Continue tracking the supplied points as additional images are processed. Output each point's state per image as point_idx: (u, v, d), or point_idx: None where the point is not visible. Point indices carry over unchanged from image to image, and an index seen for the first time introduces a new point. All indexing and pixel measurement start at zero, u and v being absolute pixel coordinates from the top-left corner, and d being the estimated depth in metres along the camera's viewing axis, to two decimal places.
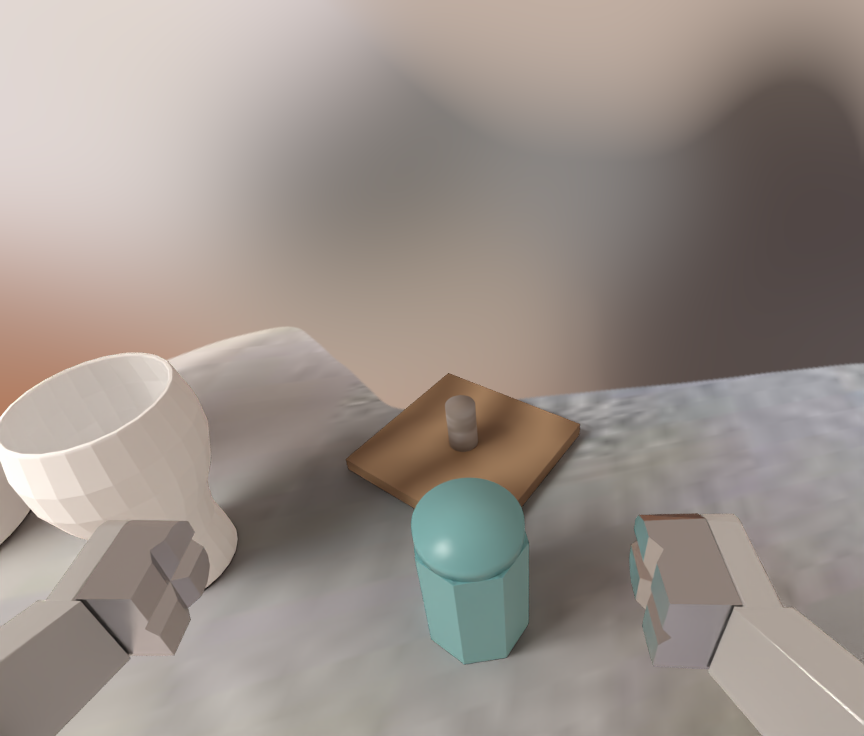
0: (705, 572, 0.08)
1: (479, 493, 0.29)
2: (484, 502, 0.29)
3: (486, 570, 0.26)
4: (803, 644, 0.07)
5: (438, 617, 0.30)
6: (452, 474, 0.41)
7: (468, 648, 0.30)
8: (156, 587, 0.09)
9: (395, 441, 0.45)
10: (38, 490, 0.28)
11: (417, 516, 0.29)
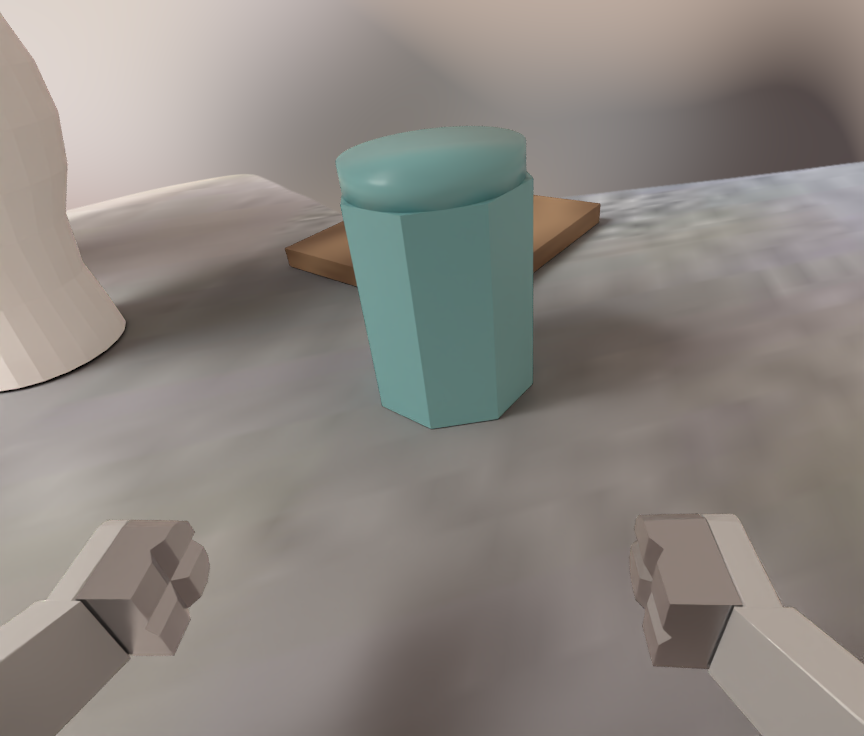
0: (705, 572, 0.08)
1: (452, 133, 0.18)
2: (460, 136, 0.18)
3: (458, 179, 0.14)
4: (803, 643, 0.07)
5: (386, 337, 0.18)
6: None
7: (435, 390, 0.18)
8: (156, 587, 0.09)
9: None
10: None
11: (348, 154, 0.17)
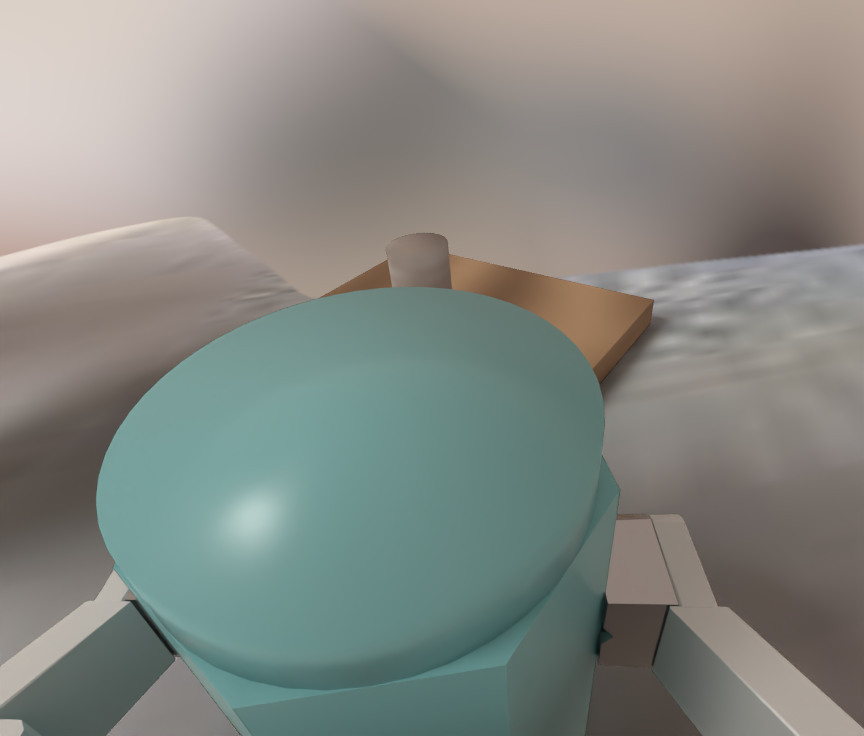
0: (645, 572, 0.08)
1: (419, 321, 0.08)
2: (434, 342, 0.07)
3: (410, 628, 0.04)
4: (732, 642, 0.07)
5: None
6: None
7: None
8: None
9: None
10: None
11: (166, 392, 0.07)
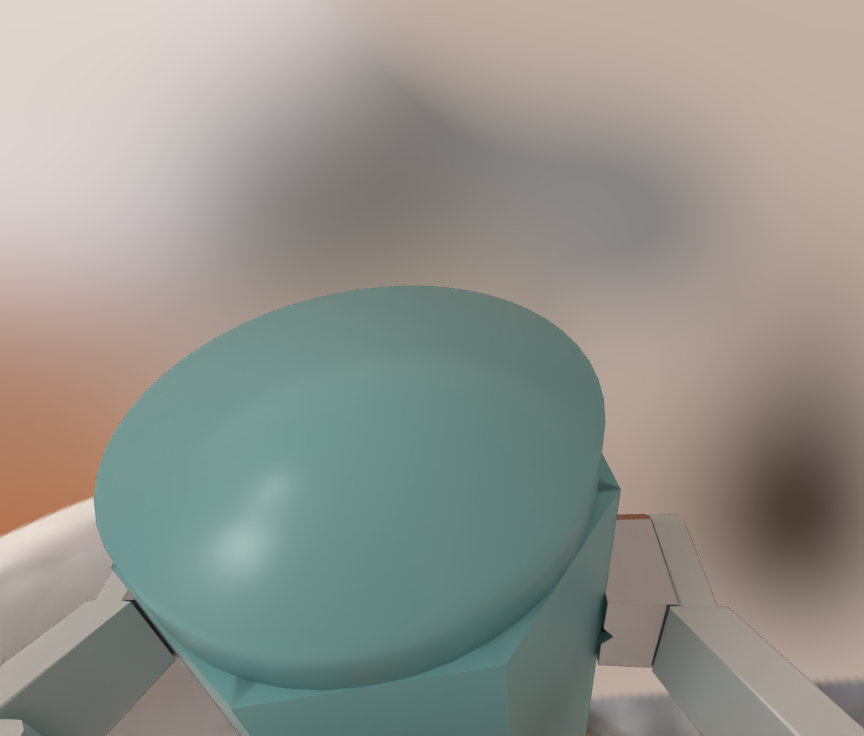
0: (645, 572, 0.08)
1: (419, 319, 0.08)
2: (434, 341, 0.07)
3: (409, 628, 0.04)
4: (733, 642, 0.07)
5: None
6: None
7: None
8: None
9: None
10: None
11: (165, 391, 0.07)
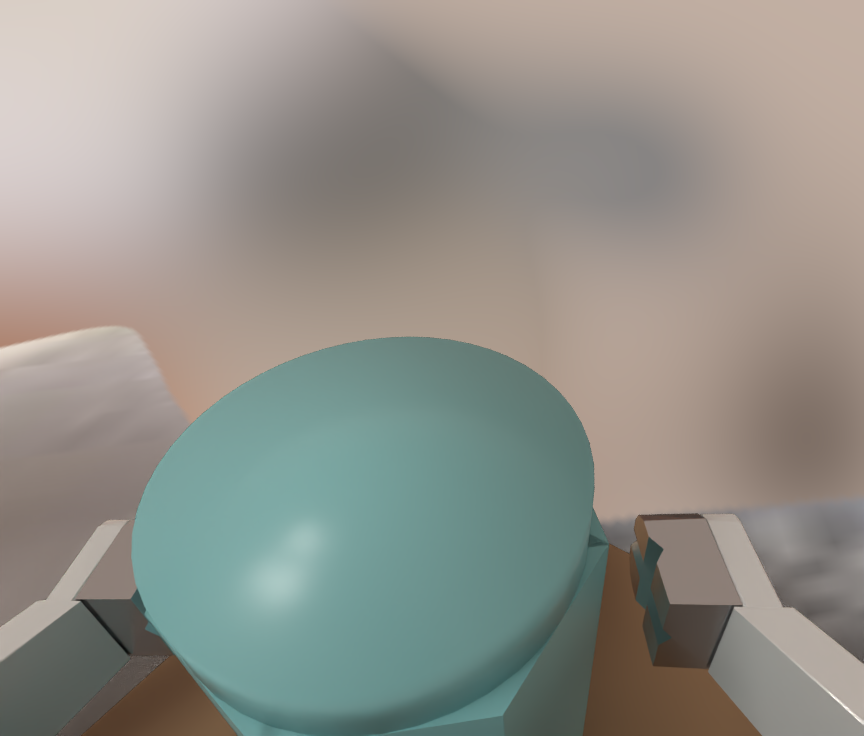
0: (705, 572, 0.08)
1: (424, 374, 0.09)
2: (438, 398, 0.08)
3: (417, 686, 0.05)
4: (803, 643, 0.07)
5: None
6: None
7: None
8: None
9: (207, 711, 0.13)
10: None
11: (189, 445, 0.08)
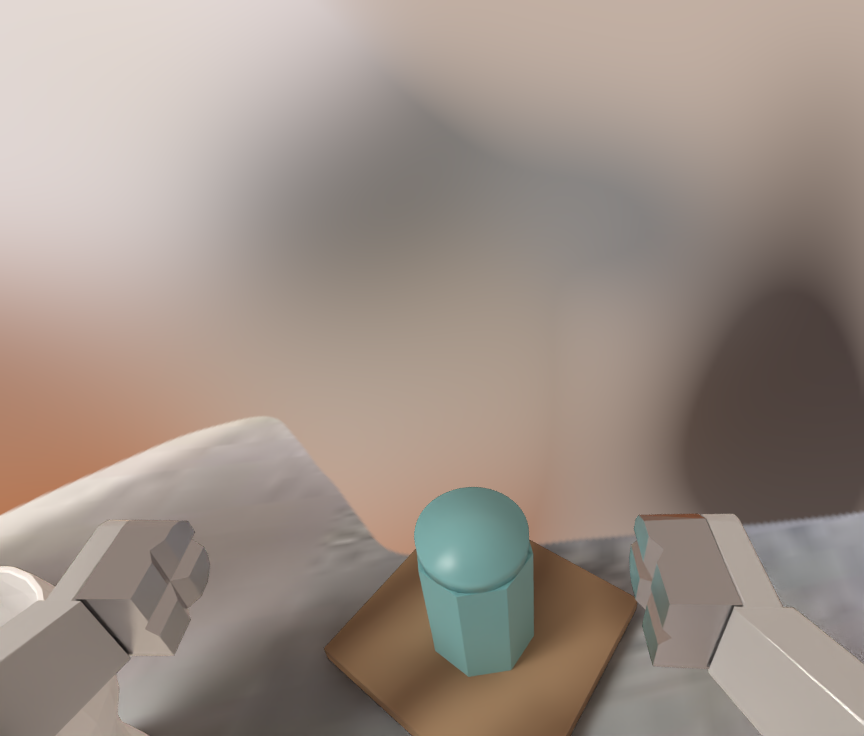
0: (705, 572, 0.08)
1: (483, 503, 0.29)
2: (488, 512, 0.29)
3: (490, 581, 0.26)
4: (803, 643, 0.07)
5: (442, 628, 0.29)
6: (468, 685, 0.30)
7: (472, 660, 0.29)
8: (156, 587, 0.09)
9: (390, 619, 0.34)
10: None
11: (420, 526, 0.28)
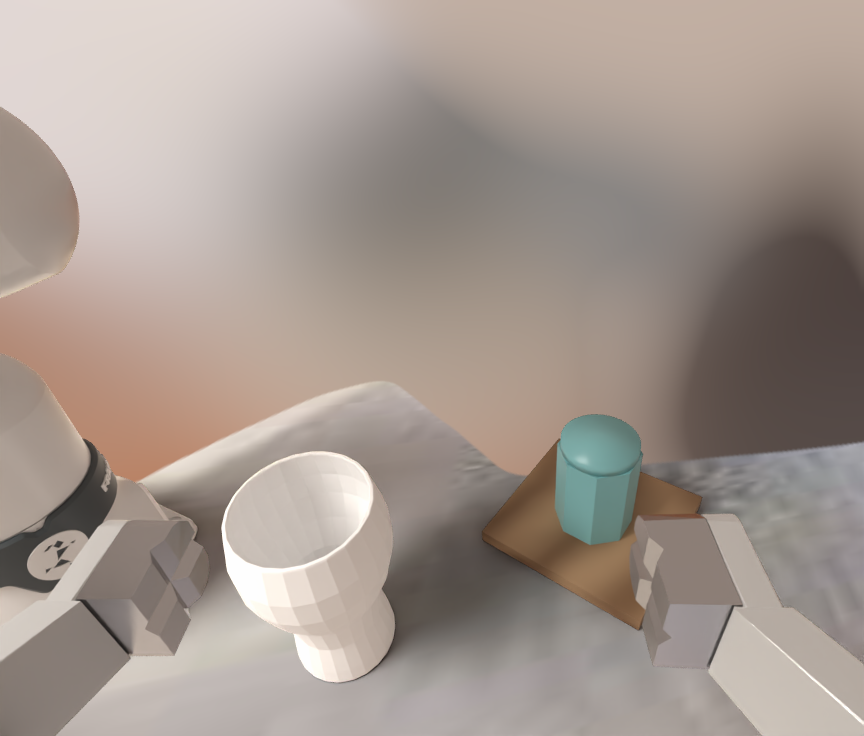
0: (705, 572, 0.08)
1: (604, 423, 0.43)
2: (609, 429, 0.42)
3: (620, 468, 0.39)
4: (803, 644, 0.07)
5: (575, 509, 0.43)
6: (590, 549, 0.44)
7: (595, 531, 0.43)
8: (156, 587, 0.09)
9: (526, 513, 0.48)
10: (274, 599, 0.30)
11: (564, 437, 0.42)
